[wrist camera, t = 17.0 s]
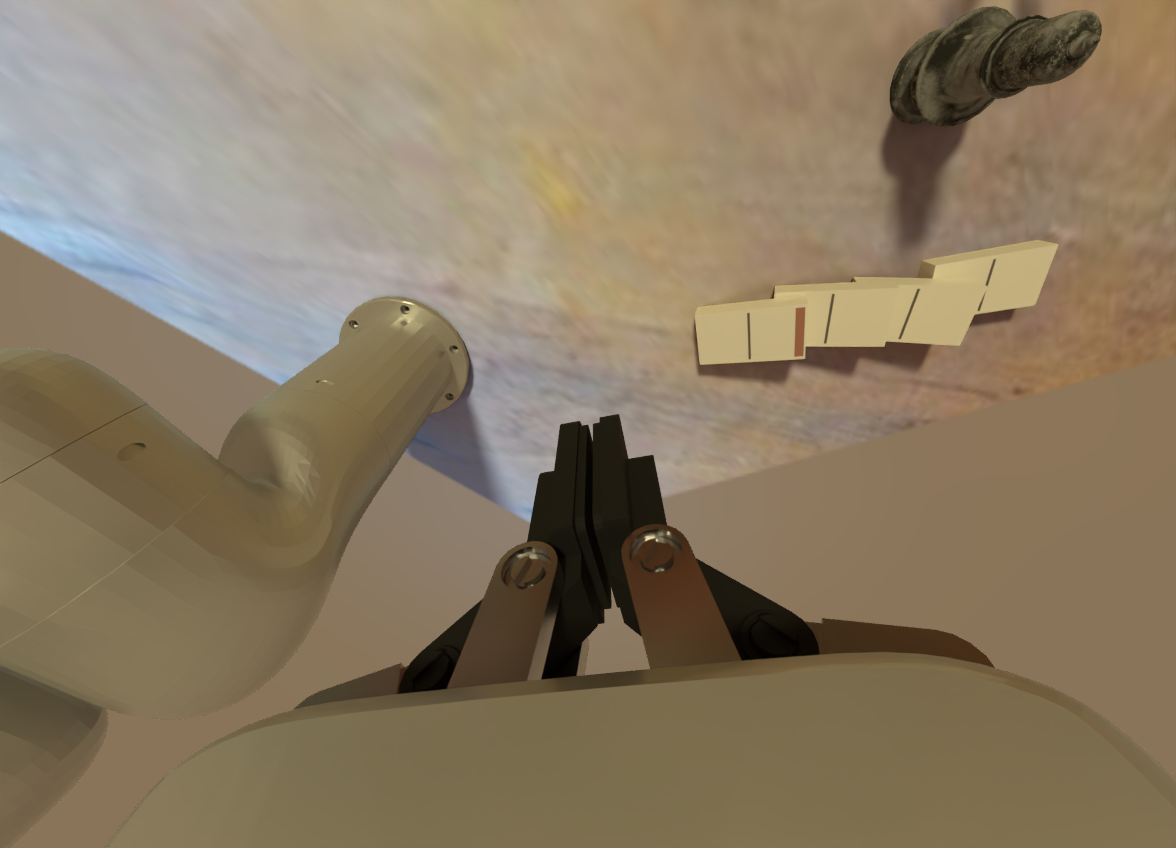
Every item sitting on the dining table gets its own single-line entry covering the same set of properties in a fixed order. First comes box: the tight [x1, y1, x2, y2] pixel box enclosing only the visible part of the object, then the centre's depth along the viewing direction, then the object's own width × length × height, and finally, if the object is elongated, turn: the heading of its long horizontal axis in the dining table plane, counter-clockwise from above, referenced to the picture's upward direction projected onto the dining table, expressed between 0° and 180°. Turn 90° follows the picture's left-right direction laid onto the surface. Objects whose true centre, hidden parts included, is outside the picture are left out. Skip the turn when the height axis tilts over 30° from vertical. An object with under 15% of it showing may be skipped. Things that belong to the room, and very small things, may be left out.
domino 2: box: [774, 280, 899, 347], centre depth 37 cm, size 2×5×9 cm
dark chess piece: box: [890, 6, 1102, 126], centre depth 25 cm, size 6×6×12 cm
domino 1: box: [695, 295, 808, 365], centre depth 38 cm, size 2×5×9 cm
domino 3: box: [852, 277, 987, 346], centre depth 36 cm, size 2×5×9 cm
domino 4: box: [918, 240, 1058, 314], centre depth 36 cm, size 2×5×9 cm
